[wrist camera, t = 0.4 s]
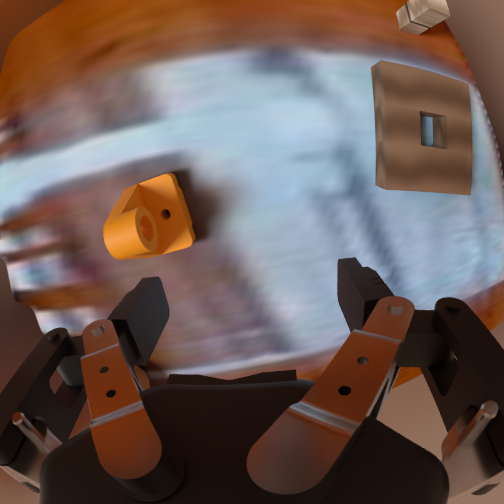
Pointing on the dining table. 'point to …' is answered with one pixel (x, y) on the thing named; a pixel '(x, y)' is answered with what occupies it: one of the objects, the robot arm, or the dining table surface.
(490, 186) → the dining table surface
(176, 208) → the bracket
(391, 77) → the board
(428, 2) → the peg
